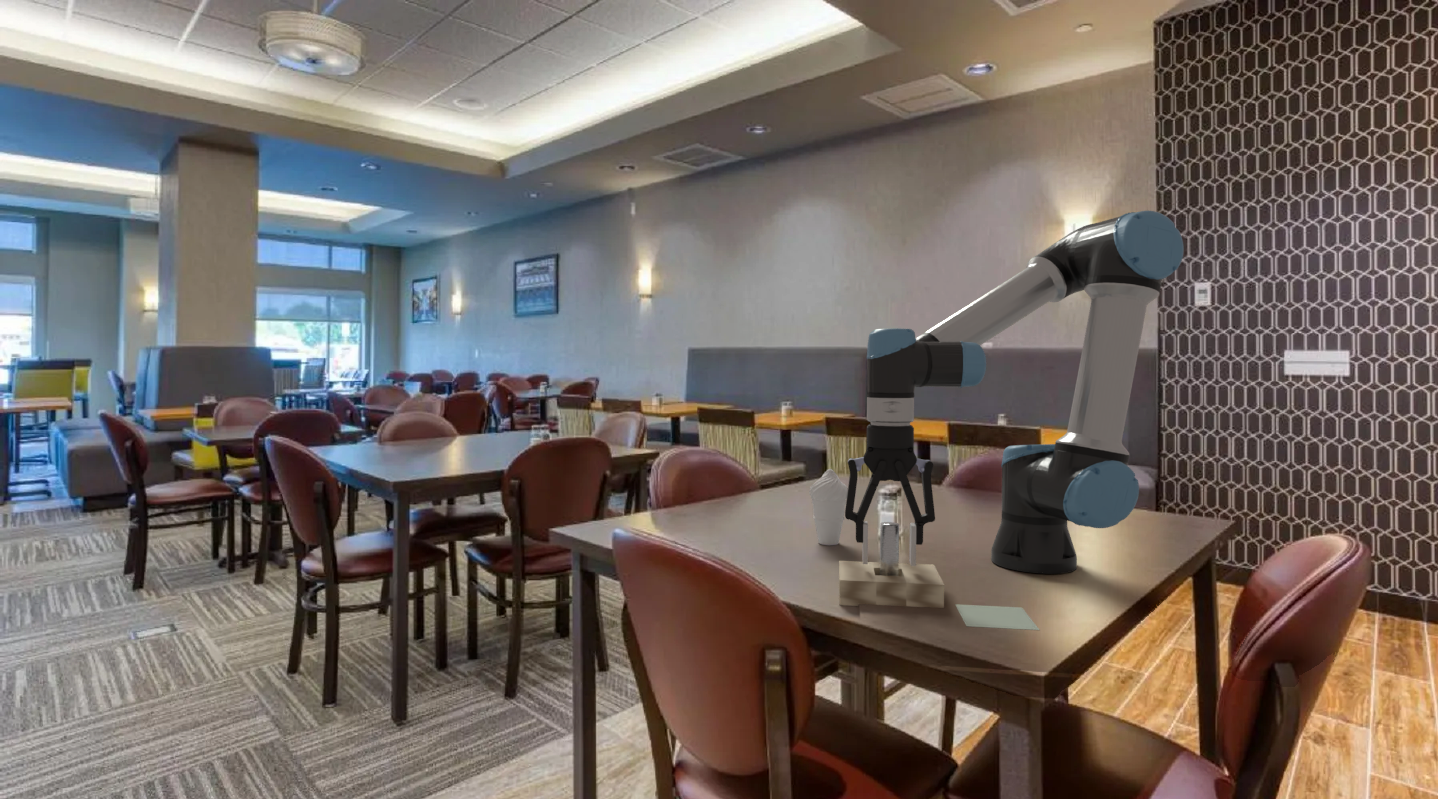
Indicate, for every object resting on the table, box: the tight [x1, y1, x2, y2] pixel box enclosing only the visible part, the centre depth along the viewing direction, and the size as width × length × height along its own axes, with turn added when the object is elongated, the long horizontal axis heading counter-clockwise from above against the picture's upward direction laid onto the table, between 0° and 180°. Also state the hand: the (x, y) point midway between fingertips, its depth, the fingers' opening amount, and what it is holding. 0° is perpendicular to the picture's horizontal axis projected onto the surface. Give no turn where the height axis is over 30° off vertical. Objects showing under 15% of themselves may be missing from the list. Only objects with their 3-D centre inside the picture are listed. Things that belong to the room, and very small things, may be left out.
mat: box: [954, 603, 1040, 631], centre depth 111 cm, size 10×10×1 cm
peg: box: [879, 521, 900, 576], centre depth 122 cm, size 3×3×12 cm
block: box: [838, 560, 945, 609], centre depth 122 cm, size 16×12×4 cm
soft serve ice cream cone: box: [808, 468, 848, 546], centre depth 159 cm, size 8×8×16 cm
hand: (888, 562), depth 122 cm, fingers open, 7 cm apart
